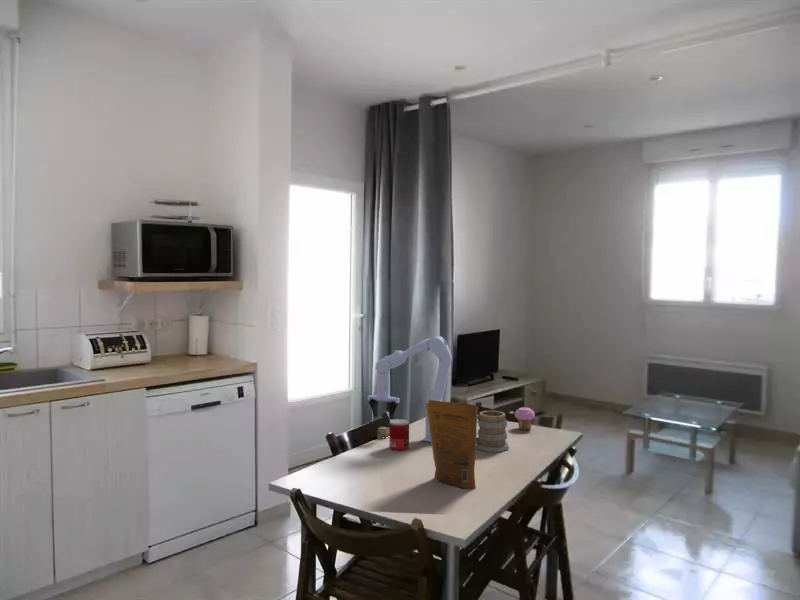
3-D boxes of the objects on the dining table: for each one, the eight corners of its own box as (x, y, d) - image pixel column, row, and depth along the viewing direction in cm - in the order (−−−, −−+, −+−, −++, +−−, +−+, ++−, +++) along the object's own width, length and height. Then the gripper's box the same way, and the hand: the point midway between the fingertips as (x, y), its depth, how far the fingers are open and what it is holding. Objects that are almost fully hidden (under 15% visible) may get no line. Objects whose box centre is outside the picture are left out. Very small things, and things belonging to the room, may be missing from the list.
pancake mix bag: (472, 493, 178) (472, 406, 177) (423, 480, 190) (424, 398, 188) (482, 487, 183) (483, 403, 182) (435, 474, 195) (435, 395, 194)
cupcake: (516, 431, 251) (516, 409, 250) (513, 426, 259) (513, 405, 259) (536, 431, 250) (536, 409, 250) (532, 426, 259) (532, 405, 259)
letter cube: (389, 436, 243) (389, 427, 243) (385, 439, 239) (385, 429, 239) (381, 435, 244) (381, 426, 244) (377, 437, 241) (377, 428, 241)
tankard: (506, 443, 232) (506, 407, 232) (509, 452, 220) (509, 415, 219) (458, 442, 234) (458, 406, 234) (458, 451, 222) (458, 413, 221)
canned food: (408, 451, 222) (408, 423, 221) (388, 451, 222) (388, 423, 222) (409, 445, 229) (409, 419, 229) (390, 445, 230) (390, 418, 229)
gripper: (364, 386, 240) (364, 418, 241) (394, 389, 234) (394, 421, 235) (372, 384, 247) (372, 414, 247) (401, 386, 241) (401, 418, 241)
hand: (383, 417), depth 241 cm, fingers open, 7 cm apart
